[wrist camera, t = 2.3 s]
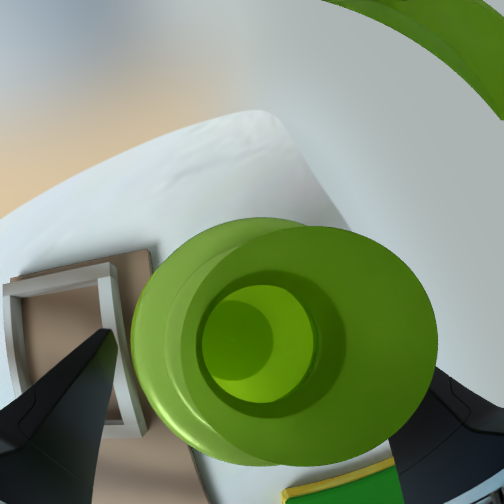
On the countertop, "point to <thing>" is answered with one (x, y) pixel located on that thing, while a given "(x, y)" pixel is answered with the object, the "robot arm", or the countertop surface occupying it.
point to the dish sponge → (351, 488)
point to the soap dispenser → (303, 306)
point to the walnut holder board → (125, 380)
